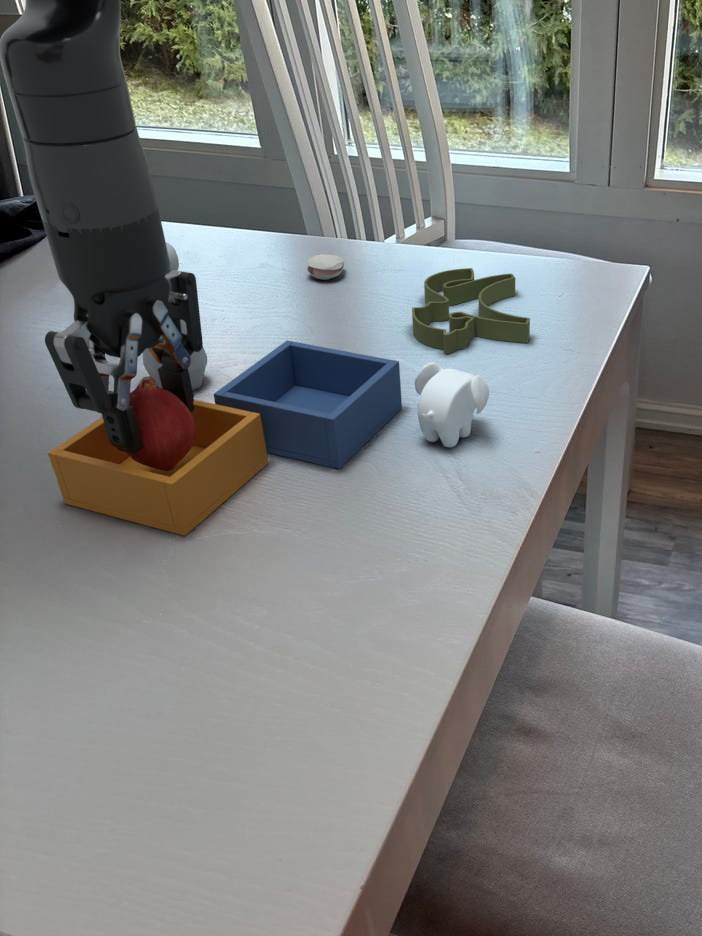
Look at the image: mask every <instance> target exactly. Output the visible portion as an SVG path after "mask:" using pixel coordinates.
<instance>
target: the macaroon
mask: <svg viewBox="0 0 702 936" xmlns="http://www.w3.org/2000/svg"><path fill="white" fill-rule="evenodd" d="M306 265H307V272H308V274H310V276H311V277H313V278H315V279H317V280H323V281H325V280H327V281H328V280H331V279H334V278H336V277H338V276H339V275H341V273H342V272H343V270H344V266H345V259H344V258H343V257H341V256H339V255H335V254H325V253H320V254H315V255H313V256H312V257H310V258H308V259H307V261H306Z"/></svg>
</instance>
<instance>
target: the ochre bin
mask: <svg viewBox="0 0 702 936" xmlns="http://www.w3.org/2000/svg"><path fill="white" fill-rule="evenodd" d="M193 404H194V411H193V412H192V413H191V415H192V417H193V419H194V425H195V441H194V444H193V447H192V448H191V449H190V451H189V452H188V453H187V454H186V456H185V457H184V458H183V459H182V460H181V461H179V462H178V463H177V465H176V466H175V468H173V469H172V470H170V471H163V470H160V469H155V468H152V467H148V466H145V465H142V464H140V463H138V462H136V461H134V460H133V459H132V458H131V457H130V456H129V455H128V454H127V453H126V452H124V451H120V450H118V449H117V448H116V447H113V446H112V444H111V443H110V441H109V438H108V434H107V430H106V427H105V424H104V420H103V417H102V416H101V417H99V418H98V419H95V421H93V422H92V423H90V424H89V425H87V426H86V427H84V428H83V429H81V430H80V431H78V432H77V433H75V434H73V435H72V436H71V437H69V438H67V439H66V440H65V441H63V442H62V443H60V444H59V445H57V446H56V447H53V448H52V449H51V450H49V451H48V452H47V455H48V457H49V461H50V465H51V466H52V470H53V473H54V475H55V477H56V482H57V484H58V487H59V489H60V493H61V496H62V499H63V502H64V504H65V505H68V506H69V505H70V506H71V507H72V506H73V507H77V508H80V509H83V510H88V511H92V512H94V513H98V514H102V515H106V516H110V517H113V518H118V519H120V520H125V521H129V522H132V523H136V524H140V525H143V526H147V527H151V528H155V529H158V530H161V531H166V532H168V533H169V532H170V533H172V534H175V535H176V534H177V535H179V536H184V537H185V536H187V535H188V534H189V533H190V532H191V531H193V530H195V528H197V526H199V525H200V523H202V522H203V521H204V520H205V519H206V518H208V517H209V516H210V515H211V514H212V513H213V512H214V511H216V510H217V509H218V508H219V507H220V506H221V505H222V504H224V503H225V502H226V501H227V500H228V499H229V498H230V497H232V495H234V494H235V493H236V492H237V491H239V490H240V489H241V488H242V487H243V486H244V485H245V484H246V483H248V482H249V481H250V480H251V479H252V478H253V477H255V475H257V474H259V472H260V471H261V470H262V469H264V468H265V467H266V466H267V465H268V464H269V457H268V452H267V451H266V445H265V439H264V434H263V428H262V422H261V416H260V414H259V413H254V412H249V411H245V410H240V409H235V408H231V407H226V406H222V405H217V404H215V403H212V402H208V401H203V400H198V399H194V403H193Z"/></svg>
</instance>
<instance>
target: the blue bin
mask: <svg viewBox="0 0 702 936" xmlns="http://www.w3.org/2000/svg"><path fill="white" fill-rule="evenodd" d="M400 369H401V368H400V361H399V360H394V359H390V358H383V357H378V356H373V355H368V354H362V353H357V352H351V351H347V350H340V349H335V348H330V347H324V346H320V345H314V344H309V343H304V342H298V341H293V340H285V341H284V342H282V343H281V344H280V345H278V346H276V347H275V348H274V349H273V350H271V351H270V352H268V353H267V354H266V355H265V356H263V357H262V358H260V359H259V360H258V361H256V362H255V363H253V365H251V366H250V367H248V368H247V369H245V370H244V371H243V372H242V373H240V374H239V375H237V376H236V377H234V378H233V379H232V380H230V381H229V382H227V383H226V384H225V385H223V386H222V387H221V388H219V389H218V390H217V391H215V392H214V393H213V399H214V404H217V405H222V406H226V407H231V408H235V409H240V410H245V411H249V412H254V413H259V414H260V416H261V422H262V428H263V434H264V439H265V445H266V451H267V454H273V455H277V456H281V457H285V458H289V459H294V460H298V461H304V462H307V463H312V464H314V465H319V466H325V467H327V468H328V467H329V468H334V469H338V470H340V469H341V468H343V466H345V465H346V463H348V461H350V459H352V458H353V457H354V456H355V455H356V454H357V453H358V452H359V451H360V450H361V449H362V448H363V447H364V446H365V445H366V444H367V443H368V442H369V441H370V440H371V439H372V438H373V437H375V436H376V435H377V433H379V431H380V430H382V429H383V427H384V426H386V424H387V423H389V422H390V421H391V420H392V419H393V418H394V417H395V416H396V415H397V414H398V413H399V412H400V411H401V410H402V409H403V406H402V405H403V403H402V402H403V401H402V386H401V370H400Z"/></svg>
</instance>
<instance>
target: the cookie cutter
mask: <svg viewBox="0 0 702 936" xmlns="http://www.w3.org/2000/svg"><path fill="white" fill-rule="evenodd" d="M423 288H424V289H423V290H424V303H425V305H424V306H418V307H413V306H412V307H411V317H412V319H411V320H412V332H413V333H412V334H413V335H414V337H415V339H416V340H417V341H418V342H420V343H421V344H423V345H425V346H428V347H431V348H435V349H440V350H443V353H444V355H450V354H452V353H453V352H455V351H456V350H464V349H466V348H468V346H469V342H470V341H471V340H473V339H474V338H475V337H479V338H484V339H489V340H493V341H494V340H495V341H501V342H502V341H503V342H511V343H521V344H528V343H529V340H530V334H531V333H530V332H531V318H530V317H526V316H519V315H514V314H510V313H505V312H501V311H499V310H496V309H493V308H492V307H490V305H492V304H494V303H496V302H498V301H501V300H503V299H507V298H511V297H516V277H515V275H514V273H503V274H496V275H495V274H494V275H490V276H486V277H481V278H477V279H475V271H474V269H473V268H472V267H467V268H465V267H464V268H455V269H448V270H443V271H440V272H437V273H434V274H432V275H430V276H428V277H427V278H425V280H424V281H423ZM442 291H443V293H442V294H441V293H439V292H442ZM476 299H478V316H477V315H473V314H469V313H466V312H464V311H455V312H451V313H450V307H451V306H455V305H456V306H457V305H459V304H463V303H465V302H469V301H472V300H476ZM446 321H448V329H449V330H448V331H449V332H448V333H447V329H445V328H439V327H434V326H430V323H431V322H446Z"/></svg>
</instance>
